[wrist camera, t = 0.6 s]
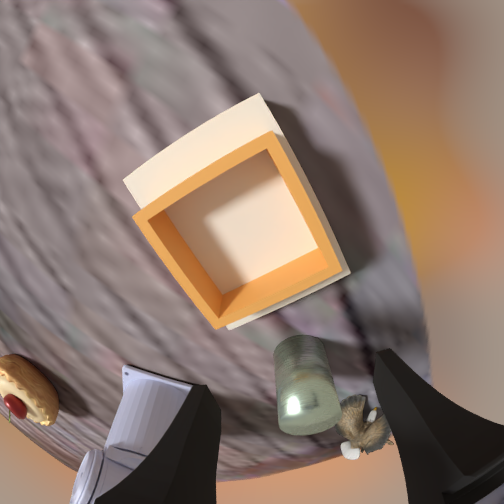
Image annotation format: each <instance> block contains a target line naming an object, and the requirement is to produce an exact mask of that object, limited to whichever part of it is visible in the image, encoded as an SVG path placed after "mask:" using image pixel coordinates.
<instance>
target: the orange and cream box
mask: <svg viewBox="0 0 504 504" xmlns="http://www.w3.org/2000/svg"><path fill="white" fill-rule="evenodd" d="M123 181H124V183H125V185H126V186H127V188H128V189H129V191H130V193H131V194H132V196H133V197H134V199H135V200H136V202H137V203H138V205H139V207H140V208H141V210H140V211H139V212H137V213H136V214H135V215H133V216H132V218H133V219H134V221H135V222H136V224H137V225H138V227H139V228H140V230H141V231H142V233H143V234H144V235H145V237H146V238H147V240H148V241H149V243H150V244H151V246H152V247H153V248H154V250H155V251H156V253H157V254H158V255H159V257H160V258H161V260H162V261H163V262H164V264H165V265H166V266H167V268H168V269H169V271H170V272H171V273H172V275H173V276H174V277H175V279H176V280H177V281H178V283H179V284H180V285H181V287H182V288H183V289H184V291H185V292H186V293H187V294H188V296H189V297H190V298H191V300H192V301H193V302H194V303H195V305H196V306H197V307H198V309H199V310H200V311H201V312H202V314H203V315H204V316H205V317H206V319H207V320H208V321H209V322H210V323H211V325H212V326H213V327H214V328H215V330H216V329H219V328H221V327H224V326H226V327H227V328H228V329H229V330H231V329H233V328H236V327H238V326H240V325H243V324H245V323H247V322H250V321H252V320H254V319H257V318H259V317H261V316H263V315H266V314H268V313H270V312H272V311H274V310H277V309H279V308H281V307H283V306H285V305H287V304H290V303H292V302H294V301H296V300H298V299H300V298H302V297H304V296H307V295H309V294H311V293H313V292H315V291H317V290H319V289H321V288H323V287H325V286H327V285H329V284H331V283H333V282H335V281H337V280H339V279H341V278H343V277H345V276H347V275H349V274H351V273H350V270H349V268H348V265H347V263H346V261H345V258H344V256H343V254H342V251H341V249H340V247H339V244H338V242H337V240H336V238H335V235H334V233H333V231H332V229H331V227H330V224H329V222H328V220H327V218H326V216H325V214H324V212H323V209H322V207H321V205H320V203H319V201H318V199H317V197H316V195H315V193H314V191H313V189H312V187H311V185H310V183H309V181H308V179H307V177H306V175H305V173H304V171H303V169H302V167H301V165H300V164H299V162H298V160H297V158H296V156H295V154H294V152H293V150H292V149H291V147H290V145H289V143H288V141H287V140H286V138H285V136H284V134H283V132H282V131H281V129H280V127H279V125H278V124H277V122H276V120H275V118H274V117H273V115H272V113H271V112H270V110H269V108H268V107H267V105H266V103H265V102H264V100H263V98H262V97H261V95H260V94H259V93H258V94H256V95H254V96H252V97H250V98H248V99H246V100H244V101H242V102H241V103H239V104H237V105H235V106H233V107H231V108H230V109H228V110H226V111H224V112H223V113H221V114H219V115H217V116H216V117H214V118H212V119H210V120H209V121H207V122H205V123H204V124H202V125H201V126H199V127H197V128H196V129H194V130H193V131H191V132H189V133H188V134H186V135H185V136H183V137H182V138H180V139H179V140H177V141H176V142H174V143H173V144H171V145H170V146H168V147H167V148H165V149H164V150H162V151H161V152H160V153H158V154H157V155H155V156H154V157H152V158H151V159H150V160H148V161H147V162H146V163H144V164H143V165H142V166H140V167H139V168H138V169H136V170H135V171H134V172H132V173H131V174H130V175H128V176H127V177H126V178H125V179H123Z"/></svg>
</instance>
